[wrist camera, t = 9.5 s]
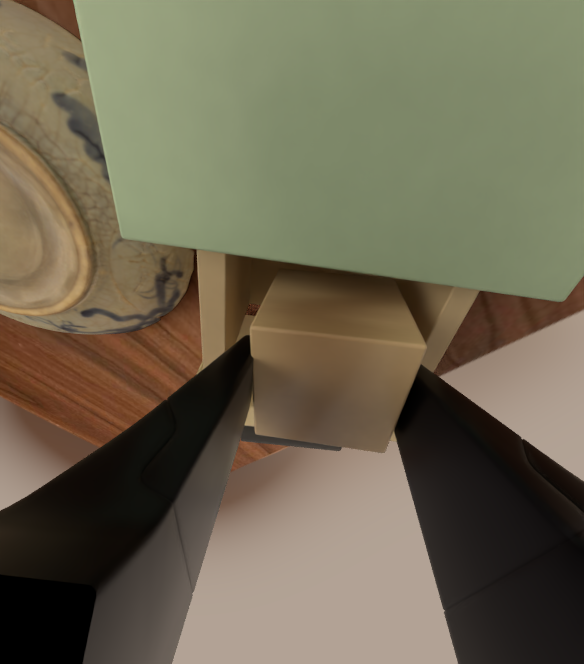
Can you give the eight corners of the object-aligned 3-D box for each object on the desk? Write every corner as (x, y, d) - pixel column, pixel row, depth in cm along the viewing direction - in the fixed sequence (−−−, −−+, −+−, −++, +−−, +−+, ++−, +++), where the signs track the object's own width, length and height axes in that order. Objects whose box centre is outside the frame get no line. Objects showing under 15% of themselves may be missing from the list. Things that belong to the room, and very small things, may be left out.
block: (395, 277, 9) (429, 347, 6) (370, 367, 11) (385, 455, 8) (278, 267, 9) (248, 326, 6) (277, 356, 12) (253, 435, 8)
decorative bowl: (-202, 137, 12) (75, 364, 19) (-373, 127, 9) (31, 403, 16) (-9, -142, 8) (251, 271, 15) (-194, -327, 5) (239, 298, 12)
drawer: (356, 394, 19) (381, 494, 13) (225, 379, 19) (192, 476, 13) (463, 117, 11) (654, 71, 5) (226, 73, 10) (132, -36, 4)
